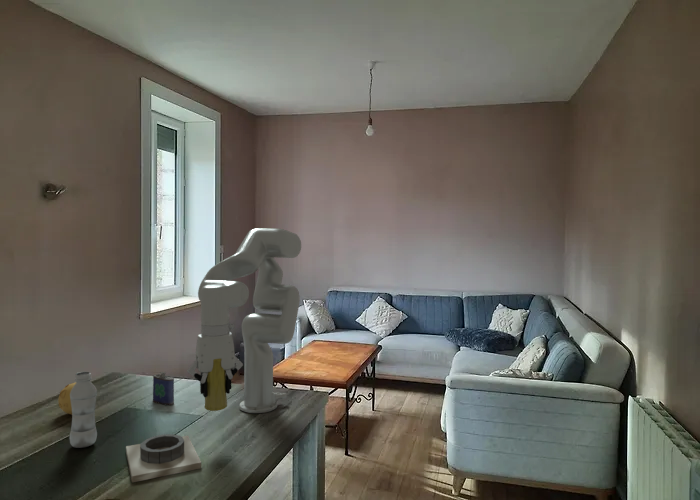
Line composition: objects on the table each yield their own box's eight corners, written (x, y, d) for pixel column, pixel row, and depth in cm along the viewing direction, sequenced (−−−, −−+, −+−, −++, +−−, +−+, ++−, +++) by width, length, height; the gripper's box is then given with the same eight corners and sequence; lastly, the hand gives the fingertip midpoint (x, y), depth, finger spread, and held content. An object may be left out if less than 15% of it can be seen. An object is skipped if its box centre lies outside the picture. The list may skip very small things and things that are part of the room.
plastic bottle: (76, 440, 140) (75, 370, 139) (101, 440, 140) (100, 370, 139) (64, 451, 133) (64, 377, 132) (91, 450, 134) (90, 376, 133)
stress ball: (97, 413, 163) (89, 388, 168) (96, 397, 156) (88, 371, 162) (62, 425, 157) (55, 398, 162) (60, 408, 151) (53, 382, 156)
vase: (221, 412, 135) (220, 360, 134) (200, 410, 137) (199, 358, 136) (230, 403, 141) (230, 354, 140) (210, 401, 143) (210, 352, 141)
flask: (175, 403, 170) (175, 372, 169) (168, 406, 167) (168, 374, 167) (157, 399, 174) (156, 368, 174) (150, 401, 172) (149, 370, 171)
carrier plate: (188, 440, 141) (188, 425, 141) (201, 468, 125) (201, 450, 125) (126, 451, 133) (126, 435, 133) (131, 482, 118) (131, 463, 117)
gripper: (242, 323, 145) (242, 385, 146) (180, 330, 137) (181, 394, 138) (249, 329, 138) (250, 393, 139) (185, 336, 130) (186, 403, 131)
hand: (216, 393), depth 139 cm, fingers closed on vase, 5 cm apart
